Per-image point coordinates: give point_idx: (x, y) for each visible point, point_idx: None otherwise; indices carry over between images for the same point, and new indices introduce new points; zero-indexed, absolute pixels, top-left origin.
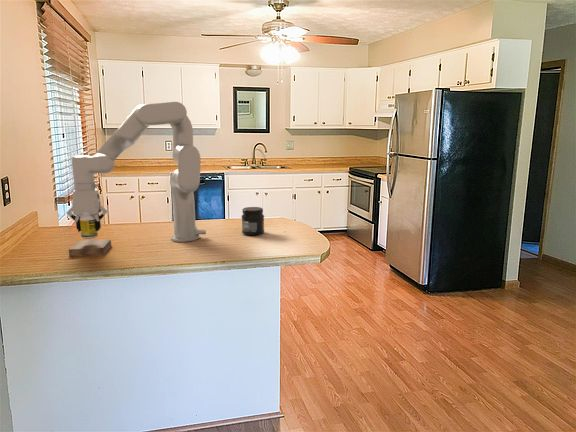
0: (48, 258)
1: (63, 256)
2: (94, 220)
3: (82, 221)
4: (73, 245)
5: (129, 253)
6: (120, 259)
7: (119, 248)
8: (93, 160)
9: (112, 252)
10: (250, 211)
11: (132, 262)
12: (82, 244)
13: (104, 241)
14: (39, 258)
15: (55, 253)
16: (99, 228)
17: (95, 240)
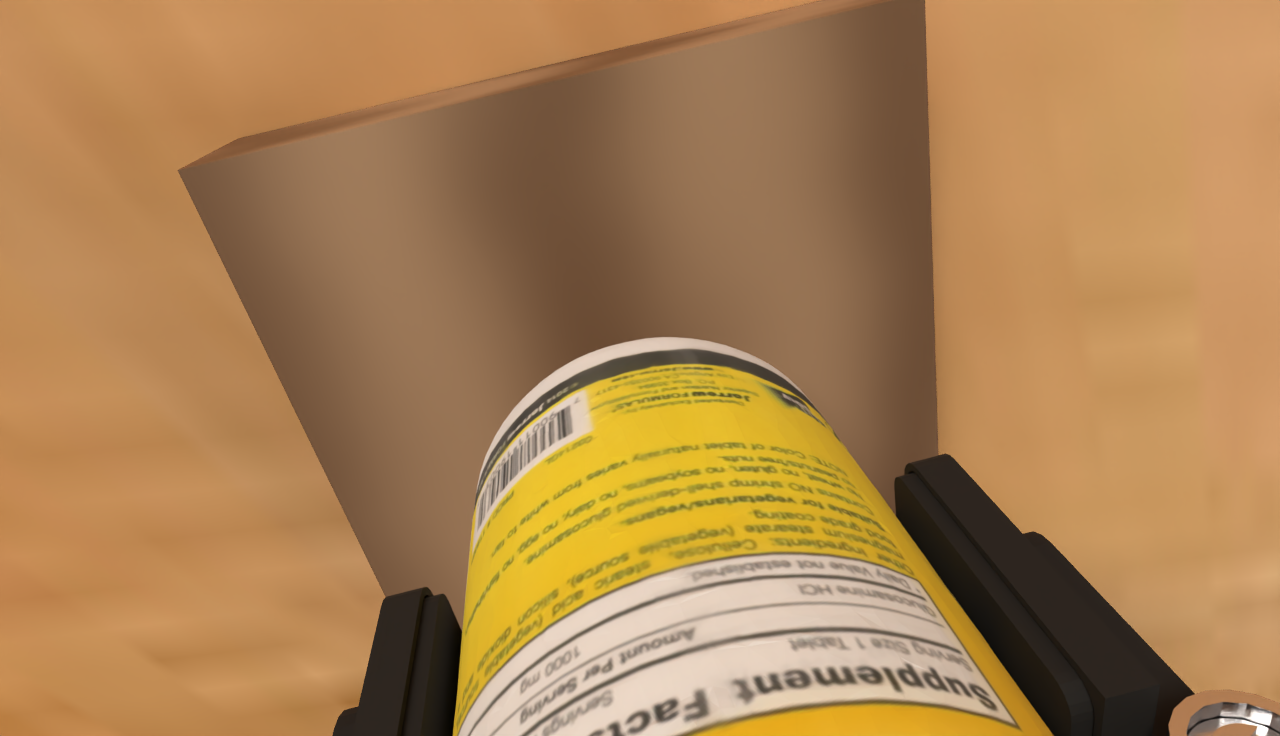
0: (198, 693)
1: (345, 603)
2: None
3: None
4: (352, 511)
5: (1217, 383)
6: (1127, 597)
7: (1041, 140)
8: None
9: (975, 365)
10: None
11: (1256, 655)
12: (486, 436)
13: (836, 188)
14: (65, 711)
15: (86, 506)
16: (954, 480)
17: (594, 117)
